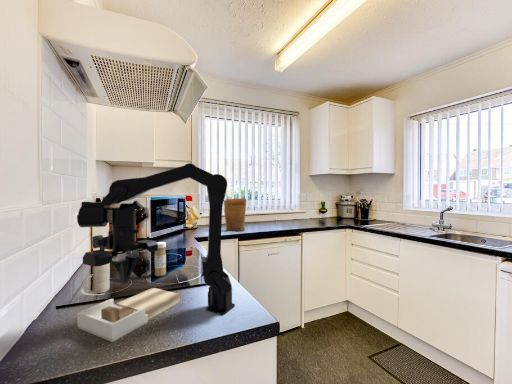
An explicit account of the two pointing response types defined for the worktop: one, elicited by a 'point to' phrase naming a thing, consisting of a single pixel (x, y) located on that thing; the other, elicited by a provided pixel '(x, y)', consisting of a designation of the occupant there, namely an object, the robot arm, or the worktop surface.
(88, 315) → the box
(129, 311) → the walnut tile
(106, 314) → the walnut tile
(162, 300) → the birch plate
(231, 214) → the pancake mix bag
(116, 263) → the robot arm
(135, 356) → the worktop surface
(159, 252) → the sprinkles bottle
